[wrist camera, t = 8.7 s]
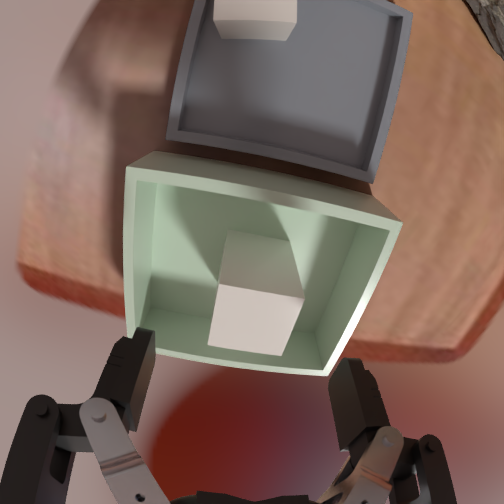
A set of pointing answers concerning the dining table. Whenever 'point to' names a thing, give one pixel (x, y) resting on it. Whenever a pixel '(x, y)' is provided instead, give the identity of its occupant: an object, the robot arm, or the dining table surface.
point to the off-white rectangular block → (255, 294)
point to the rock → (491, 21)
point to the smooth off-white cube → (255, 19)
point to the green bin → (255, 222)
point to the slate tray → (296, 86)
